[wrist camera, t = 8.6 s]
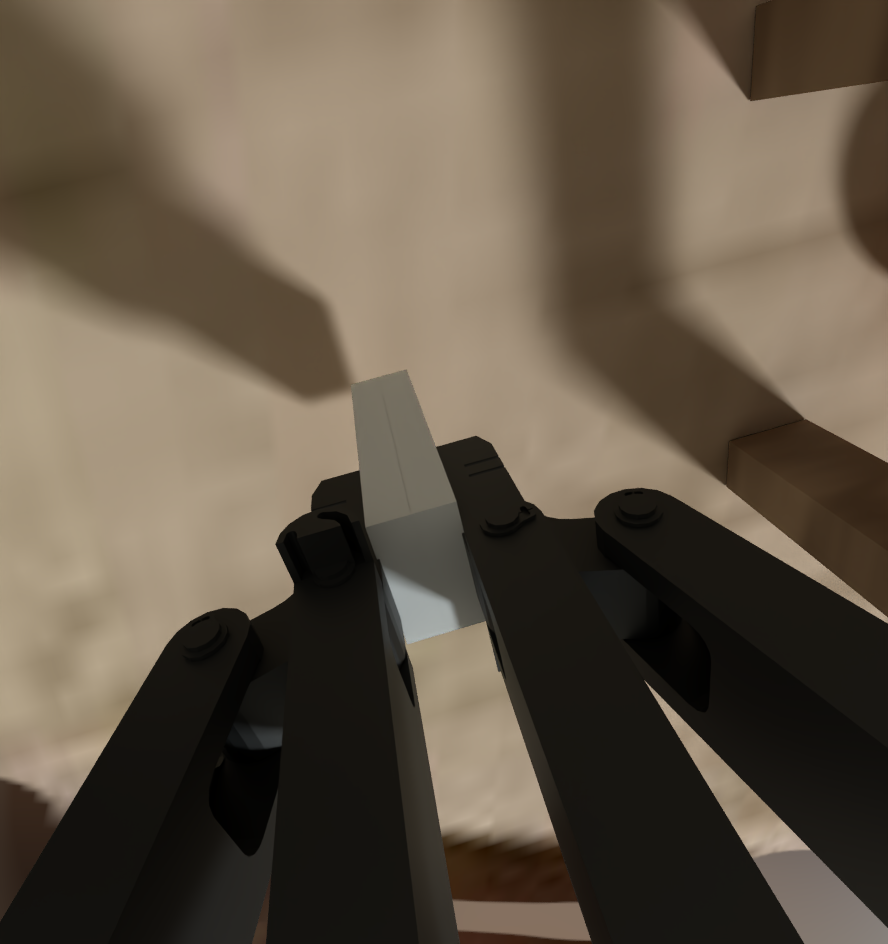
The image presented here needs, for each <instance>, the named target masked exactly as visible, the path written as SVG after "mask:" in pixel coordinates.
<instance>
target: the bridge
mask: <svg viewBox="0 0 888 944" xmlns="http://www.w3.org/2000/svg"><path fill="white" fill-rule="evenodd" d="M881 81H888V0H772V1H769V2H766V3H763V4H761V5H758V6H756V19H755V35H754V51H753V68H752V84H751V100H750V101H755V100H761V99H768V98H775V97H781V96H788V95H795V94H801V93H808V92H815V91H821V90H828V89H835V88H841V87H848V86H855V85H861V84H868V83H875V82H881ZM726 487H728V488H729V489H730V490H731V491H733V492H734V493H735V494H736V495H738V496H739V497H740V498H741V499H742V500H744V501H745V502H746V503H747V504H749V505H750V506H751V507H752V508H754V509H755V510H756V511H757V512H759V513H760V514H761V515H762V516H763V517H765V518H766V519H767V520H768V521H770V522H771V523H772V524H773V525H775V526H776V527H777V528H778V529H779V530H781V531H782V532H783V533H784V534H786V535H787V536H788V537H789V538H791V539H792V540H793V541H794V542H796V543H797V544H798V545H799V546H800V547H802V548H803V549H804V550H805V551H807V552H808V553H809V554H810V555H812V556H813V557H814V558H815V559H817V560H818V561H819V562H820V563H821V564H823V565H824V566H825V567H826V568H828V569H829V570H830V571H831V572H833V573H834V574H835V575H836V576H838V577H839V578H840V579H841V580H842V581H844V582H845V583H846V584H847V585H849V586H850V587H851V588H852V589H854V590H855V591H856V592H857V593H858V594H860V595H861V596H862V597H863V598H865V599H866V600H867V601H868V602H870V603H871V604H872V605H873V606H875V607H876V608H877V609H878V610H879V611H881V612H882V613H883V614H884V615H886V616H887V617H888V463H887V462H885V461H883V460H881V459H879V458H878V457H876V456H874V455H872V454H870V453H868V452H866V451H864V450H863V449H861V448H859V447H857V446H855V445H853V444H851V443H849V442H848V441H846V440H844V439H842V438H840V437H838V436H836V435H834V434H833V433H831V432H829V431H827V430H825V429H823V428H821V427H819V426H818V425H816V424H814V423H812V422H810V421H808V420H806V419H805V420H802V421H798V422H795V423H791V424H788V425H784V426H781V427H777V428H774V429H771V430H767V431H764V432H760V433H757V434H753V435H750V436H746V437H743V438H739V439H736V440H732V441H729V454H728V470H727V486H726Z"/></svg>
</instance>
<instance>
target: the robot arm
mask: <svg viewBox="0 0 888 944" xmlns="http://www.w3.org/2000/svg"><path fill="white" fill-rule="evenodd" d="M351 390H352V400H353V410H354V420H355V430H356V440H357V450H358V460H359V471H355V472H352V473H348V474H344V475H341V476H337V477H334V478H330V479H327V480H323V481H321V483H320V484H319V486H318V487H317V489H316V490H315V492H314V493H313V495H312V503H311V511H312V512H310V513H307V514H305V515H302V516H301V517H299V518H298V519H296V520H295V521H293V522H292V523H290V524H289V525H288V526H287V527H286V528H285V529H284V530H283V531H282V532H281V533H280V535H279V537H278V540H277V542H276V547H277V549H278V551H279V553H280V555H281V557H282V559H283V561H284V563H285V565H286V568H287V570H288V572H289V574H290V576H291V578H292V580H293V582H294V593H293V594H292V595H291V596H290V597H289V598H288V599H287V600H285V601H284V602H282V603H281V604H279V605H278V606H276V607H274V608H273V609H271V610H269V611H267V612H265V613H263V614H261V615H259V616H258V617H256V618H254V619H252V620H249V618H248V616H247V614H246V613H244V612H242V611H240V610H238V609H234V608H222V609H218V610H214V611H210V612H207V613H205V614H203V615H201V616H199V617H197V618H195V619H193V620H191V621H190V622H189V623H188V624H186V625H185V626H184V627H183V628H181V629H180V630H179V631H178V632H177V633H176V634H175V635H174V636H173V638H172V639H171V640H170V641H169V643H168V644H167V645H166V647H165V648H164V650H163V652H162V653H161V655H160V657H159V658H158V660H157V662H156V663H155V665H154V666H153V668H152V670H151V671H150V673H149V675H148V676H147V678H146V680H145V681H144V683H143V685H142V686H141V688H140V690H139V691H138V693H137V695H136V696H135V698H134V700H133V701H132V703H131V705H130V706H129V708H128V710H127V711H126V713H125V715H124V716H123V718H122V720H121V721H120V723H119V725H118V726H117V728H116V730H115V731H114V733H113V735H112V736H111V738H110V740H109V741H108V743H107V745H106V746H105V748H104V750H103V751H102V753H101V755H100V756H99V758H98V760H97V761H96V763H95V765H94V766H93V768H92V770H91V771H90V773H89V775H88V776H87V778H86V780H85V781H84V783H83V785H82V786H81V788H80V790H79V791H78V793H77V795H76V796H75V798H74V800H73V801H72V803H71V805H70V806H69V808H68V810H67V811H66V813H65V815H64V816H63V818H62V820H61V821H60V823H59V825H58V826H57V828H56V830H55V831H54V833H53V835H52V836H51V838H50V840H49V841H48V843H47V845H46V846H45V848H44V850H43V851H42V853H41V855H40V856H39V858H38V860H37V862H36V863H35V865H34V867H33V868H32V870H31V871H30V873H29V875H28V877H27V878H26V880H25V881H24V883H23V885H22V886H21V888H20V890H19V892H18V893H17V895H16V896H15V898H14V900H13V901H12V903H11V905H10V906H9V908H8V910H7V912H6V913H5V915H4V916H3V918H2V920H1V921H0V944H252V941H253V937H254V933H255V930H256V926H257V923H258V919H259V915H260V912H261V908H262V904H263V901H264V897H265V894H266V890H267V886H268V883H269V879H270V876H271V887H270V900H269V913H268V925H267V938H266V944H460V942H459V936H458V930H457V925H456V919H455V913H454V907H453V901H452V895H451V889H450V883H449V878H448V872H447V866H446V860H445V854H444V848H443V842H442V837H441V831H440V825H439V819H438V813H437V807H436V801H435V795H434V790H433V784H432V778H431V772H430V766H429V760H428V754H427V749H426V743H425V737H424V731H423V725H422V719H421V713H420V707H419V702H418V696H417V690H416V684H415V678H414V672H413V667H412V664H411V661H410V659H409V656H408V653H407V650H406V647H405V641H404V636H405V639H406V642H407V644H410V643H413V642H417V641H420V640H423V639H427V638H430V637H433V636H437V635H440V634H443V633H447V632H450V631H454V630H457V629H460V628H464V627H467V626H470V625H474V624H477V623H480V622H484V621H486V623H487V627H488V631H489V635H490V639H491V643H492V647H493V652H494V656H495V660H496V664H497V668H498V672H500V671H501V673H502V676H503V679H504V682H505V685H506V688H507V691H508V694H509V697H510V700H511V703H512V706H513V709H514V712H515V715H516V718H517V721H518V724H519V727H520V730H521V733H522V736H523V739H524V742H525V745H526V748H527V751H528V754H529V757H530V759H531V762H532V765H533V768H534V771H535V774H536V777H537V780H538V783H539V786H540V789H541V792H542V795H543V798H544V801H545V804H546V807H547V810H548V813H549V816H550V819H551V822H552V825H553V828H554V831H555V834H556V837H557V840H558V843H559V846H560V849H561V852H562V855H563V858H564V861H565V864H566V867H567V870H568V873H569V876H570V879H571V882H572V885H573V888H574V891H575V893H576V896H577V899H578V902H579V905H580V908H581V911H582V914H583V917H584V920H585V923H586V926H587V929H588V932H589V935H590V938H591V941H592V944H804V943H803V941H802V939H801V938H800V936H799V934H798V933H797V931H796V929H795V928H794V926H793V924H792V923H791V921H790V920H789V918H788V916H787V915H786V913H785V911H784V910H783V908H782V906H781V905H780V903H779V901H778V900H777V898H776V896H775V895H774V893H773V892H772V890H771V888H770V886H769V885H768V883H767V882H766V880H765V878H764V877H763V875H762V873H761V872H760V870H759V868H758V867H757V865H756V863H755V862H754V860H753V859H752V857H751V855H750V854H749V852H748V850H747V849H746V847H745V845H744V844H743V842H742V840H741V839H740V837H739V835H738V834H737V832H736V831H735V829H734V827H733V826H732V824H731V822H730V821H729V819H728V817H727V816H726V814H725V812H724V811H723V809H722V807H721V806H720V804H719V803H718V801H717V799H716V798H715V796H714V794H713V793H712V791H711V789H710V788H709V786H708V784H707V783H706V781H705V780H704V778H703V776H702V775H701V773H700V771H699V770H698V768H697V766H696V765H695V763H694V761H693V760H692V758H691V756H690V755H689V753H688V752H687V750H686V748H685V747H684V745H683V743H682V742H681V740H680V738H679V737H678V735H677V733H676V732H675V730H674V728H673V727H672V725H671V724H670V722H669V720H668V719H667V717H666V715H665V714H664V712H663V710H662V709H661V707H660V705H659V704H658V702H657V700H656V699H655V697H654V696H653V694H652V692H651V691H650V689H649V687H648V686H647V684H646V682H647V683H648V684H649V685H650V686H651V687H652V688H653V689H654V690H655V691H656V692H657V693H658V694H659V695H660V696H661V697H662V698H663V699H664V700H665V701H666V702H667V704H668V705H669V706H670V707H671V708H672V709H673V710H674V711H675V712H676V713H677V714H678V715H679V716H680V717H681V718H682V719H683V720H684V721H685V722H686V723H687V724H688V725H689V726H690V727H691V728H692V729H693V730H694V731H695V732H696V733H697V734H698V735H699V736H700V737H701V738H702V739H703V740H704V741H705V742H706V743H707V744H708V745H709V746H710V747H711V748H712V749H713V750H714V751H715V752H716V753H717V754H718V755H719V756H720V757H721V759H722V760H723V761H724V762H725V763H726V764H727V765H728V766H729V767H730V768H731V769H732V770H733V771H734V772H735V773H736V774H737V775H738V776H739V777H740V778H741V779H742V780H743V781H744V782H745V783H746V784H747V785H748V786H749V787H750V788H751V789H752V790H753V791H754V792H755V793H756V794H757V795H758V796H759V797H760V798H761V799H762V800H763V801H764V802H765V803H766V804H767V805H768V806H769V807H770V808H771V809H772V810H773V811H774V812H775V814H776V815H777V816H778V817H779V818H780V819H781V820H782V821H783V822H784V823H785V824H786V825H787V826H788V827H789V828H790V829H791V830H792V831H793V832H794V833H795V834H796V835H797V836H798V837H799V838H800V839H801V840H802V841H803V842H804V843H805V844H806V845H807V846H808V847H809V848H810V849H811V850H812V851H813V852H814V853H815V854H816V855H817V856H818V857H819V858H820V859H821V860H822V861H823V862H824V863H825V864H826V865H827V866H828V867H829V869H830V870H831V871H833V873H834V874H835V875H836V876H837V877H838V878H839V879H840V880H841V881H842V882H843V883H844V884H845V885H846V886H847V887H848V888H849V889H850V890H851V891H852V892H853V893H854V894H855V895H856V896H857V897H858V898H859V899H860V900H861V901H862V902H863V903H864V904H865V905H866V906H867V907H868V908H869V909H870V910H871V911H872V912H873V913H874V914H875V915H876V916H877V917H878V918H879V919H880V920H881V921H882V922H883V924H884V925H885V926H887V928H888V624H887V623H886V622H884V621H882V620H881V619H879V618H877V617H876V616H874V615H872V614H871V613H869V612H867V611H866V610H864V609H862V608H860V607H859V606H857V605H855V604H854V603H852V602H850V601H849V600H847V599H845V598H844V597H842V596H840V595H838V594H837V593H835V592H833V591H832V590H830V589H828V588H827V587H825V586H823V585H822V584H820V583H818V582H816V581H815V580H813V579H811V578H810V577H808V576H806V575H805V574H803V573H801V572H800V571H798V570H796V569H794V568H793V567H791V566H789V565H788V564H786V563H784V562H783V561H781V560H779V559H778V558H776V557H774V556H772V555H771V554H769V553H767V552H766V551H764V550H762V549H761V548H759V547H757V546H756V545H754V544H752V543H750V542H749V541H747V540H745V539H744V538H742V537H740V536H739V535H737V534H735V533H734V532H732V531H730V530H728V529H727V528H725V527H723V526H722V525H720V524H718V523H717V522H715V521H713V520H712V519H710V518H708V517H707V516H705V515H703V514H701V513H700V512H698V511H696V510H695V509H693V508H691V507H690V506H688V505H686V504H685V503H683V502H681V501H679V500H678V499H676V498H674V497H673V496H671V495H668V494H666V493H663V492H661V491H658V490H652V489H645V488H635V489H624V490H621V491H618V492H615V493H612V494H609V495H608V496H606V497H605V498H604V499H602V500H601V501H599V503H598V505H597V506H596V508H595V510H594V515H595V518H582V519H556V518H550V517H546V516H544V515H543V513H542V511H541V510H539V509H538V508H537V507H536V506H535V505H534V504H532V503H529V502H526V501H524V499H523V497H522V496H521V494H520V492H519V490H518V489H517V487H516V485H515V483H514V482H513V480H512V478H511V477H510V475H509V473H508V471H507V470H506V468H504V465H503V463H502V461H501V459H500V458H499V457H498V454H497V453H496V451H495V449H494V447H493V446H492V444H491V443H489V442H487V441H485V440H483V439H481V438H480V437H478V436H474V437H470V438H467V439H463V440H460V441H456V442H452V443H449V444H445V445H442V446H438V447H436V446H435V443H434V441H433V438H432V435H431V433H430V430H429V428H428V425H427V422H426V420H425V417H424V414H423V412H422V409H421V406H420V404H419V401H418V399H417V396H416V393H415V391H414V388H413V385H412V383H411V380H410V377H409V375H408V372H407V370H403V371H399V372H395V373H392V374H388V375H384V376H381V377H377V378H373V379H370V380H366V381H362V382H359V383H355V384H351ZM403 633H404V635H403ZM644 680H645V681H646V682H645V681H644ZM271 872H272V874H271Z"/></svg>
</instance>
